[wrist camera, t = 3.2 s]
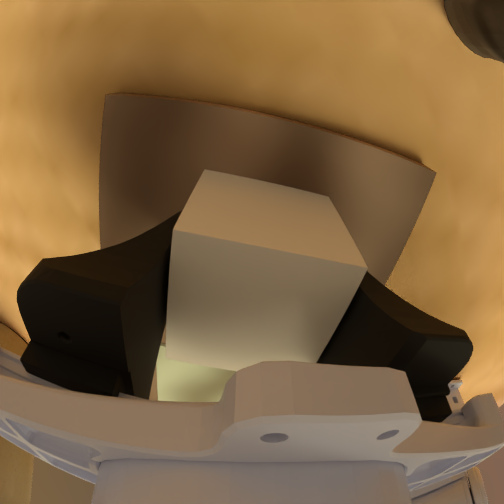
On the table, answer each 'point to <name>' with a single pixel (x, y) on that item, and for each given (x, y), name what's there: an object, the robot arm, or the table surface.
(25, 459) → the plant pot
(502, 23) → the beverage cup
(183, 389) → the post board
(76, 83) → the table surface
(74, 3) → the table surface
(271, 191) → the beige stacked cube
